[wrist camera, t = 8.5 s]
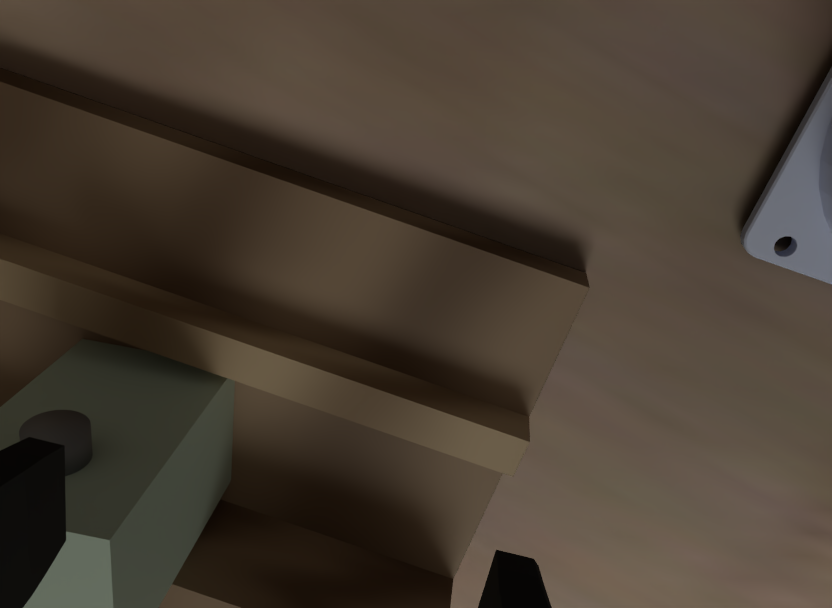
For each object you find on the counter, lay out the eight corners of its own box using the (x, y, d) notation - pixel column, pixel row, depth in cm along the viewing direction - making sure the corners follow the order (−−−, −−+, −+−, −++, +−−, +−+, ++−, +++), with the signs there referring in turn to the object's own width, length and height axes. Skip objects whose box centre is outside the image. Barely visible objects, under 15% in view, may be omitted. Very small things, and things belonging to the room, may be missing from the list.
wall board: (586, 273, 19) (604, 352, 15) (440, 588, 24) (425, 710, 20) (-141, 18, 19) (-322, 29, 15) (-135, 390, 24) (-268, 475, 20)
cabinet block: (235, 342, 20) (107, 508, 14) (230, 480, 22) (117, 680, 16) (81, 313, 21) (-114, 463, 14) (89, 452, 23) (-78, 638, 16)
